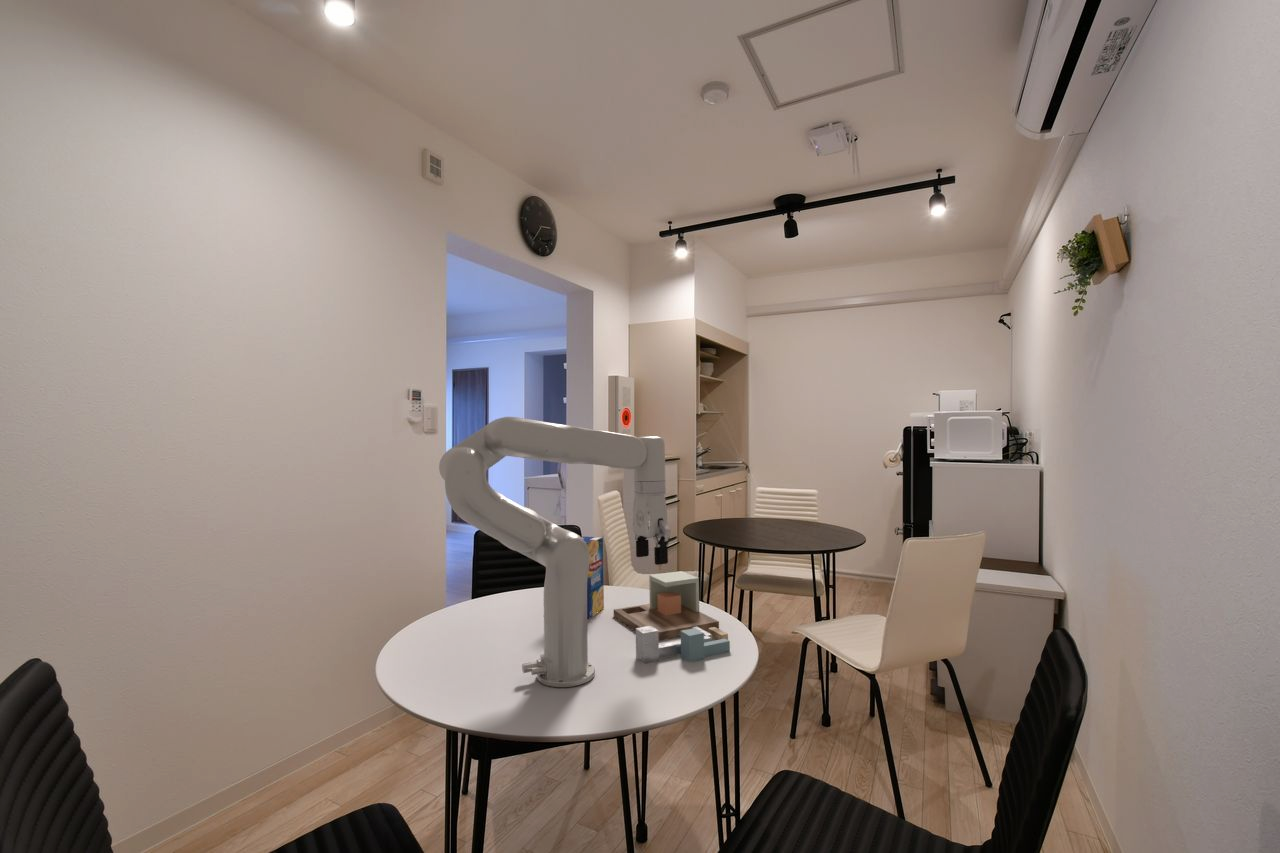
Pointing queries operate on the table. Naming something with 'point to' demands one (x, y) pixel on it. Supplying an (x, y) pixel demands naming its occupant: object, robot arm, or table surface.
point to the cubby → (675, 588)
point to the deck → (664, 620)
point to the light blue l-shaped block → (700, 645)
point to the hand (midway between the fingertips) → (651, 560)
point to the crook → (651, 649)
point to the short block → (717, 633)
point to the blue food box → (595, 576)
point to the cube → (669, 603)
